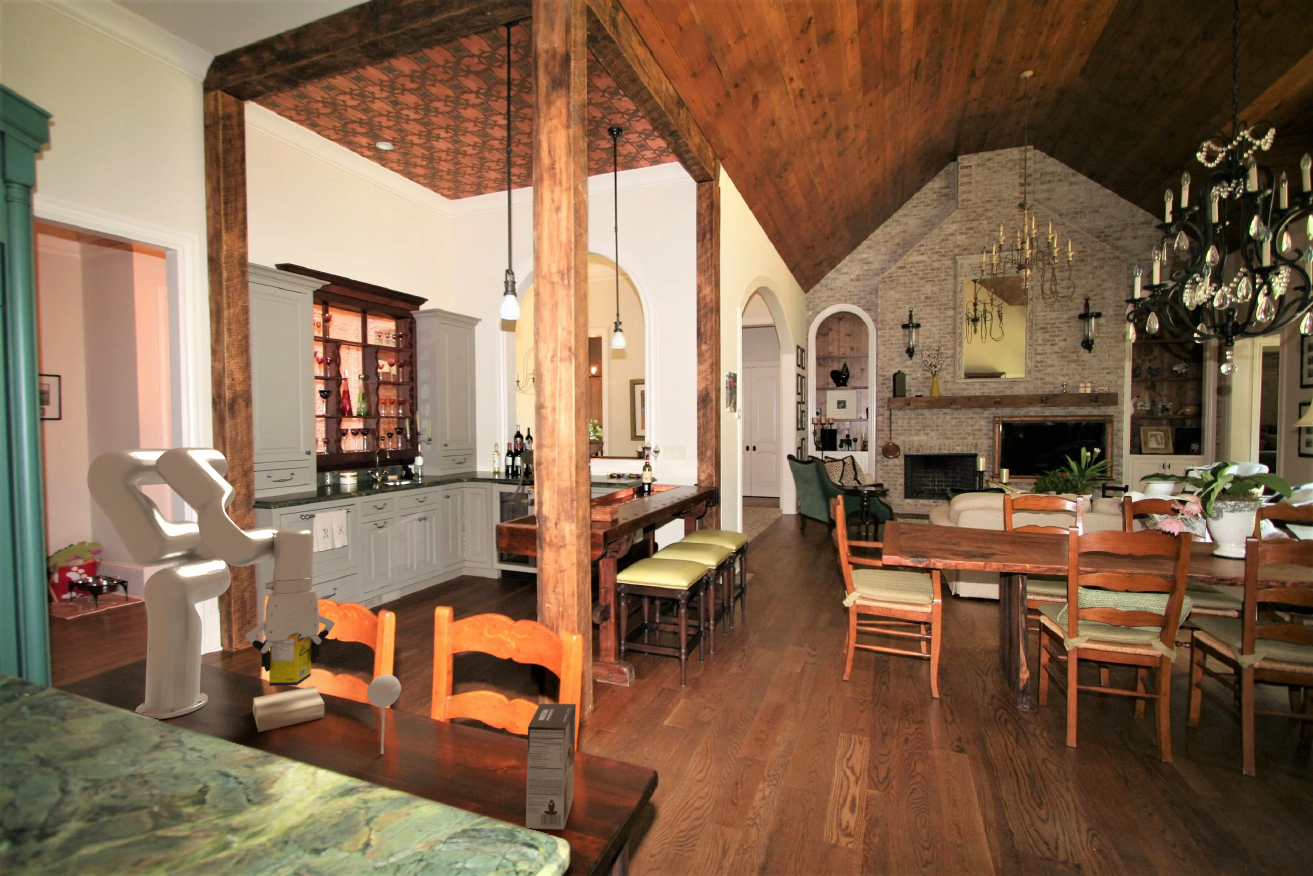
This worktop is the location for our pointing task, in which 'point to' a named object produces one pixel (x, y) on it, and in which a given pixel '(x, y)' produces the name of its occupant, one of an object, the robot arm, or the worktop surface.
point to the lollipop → (383, 696)
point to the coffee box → (550, 766)
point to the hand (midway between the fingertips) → (290, 665)
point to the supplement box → (290, 661)
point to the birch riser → (287, 708)
